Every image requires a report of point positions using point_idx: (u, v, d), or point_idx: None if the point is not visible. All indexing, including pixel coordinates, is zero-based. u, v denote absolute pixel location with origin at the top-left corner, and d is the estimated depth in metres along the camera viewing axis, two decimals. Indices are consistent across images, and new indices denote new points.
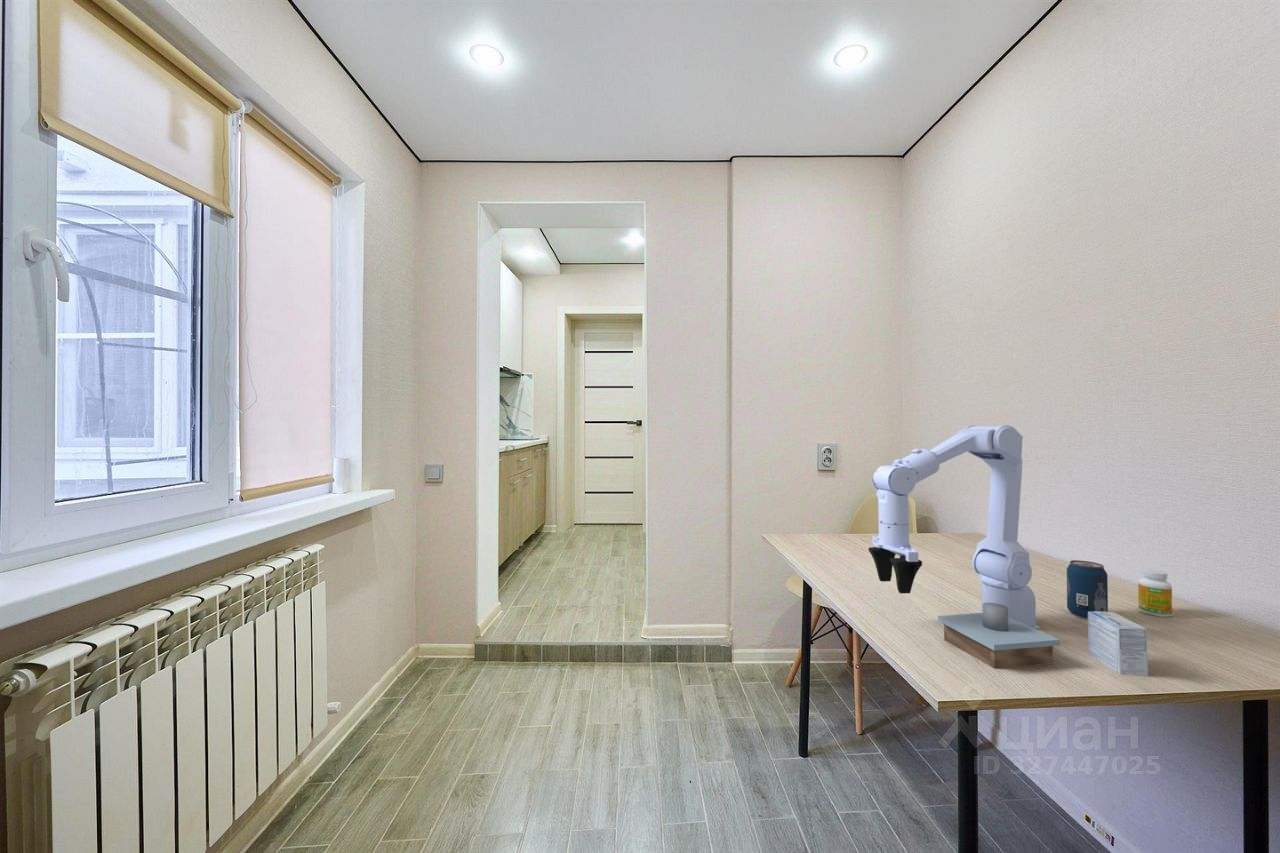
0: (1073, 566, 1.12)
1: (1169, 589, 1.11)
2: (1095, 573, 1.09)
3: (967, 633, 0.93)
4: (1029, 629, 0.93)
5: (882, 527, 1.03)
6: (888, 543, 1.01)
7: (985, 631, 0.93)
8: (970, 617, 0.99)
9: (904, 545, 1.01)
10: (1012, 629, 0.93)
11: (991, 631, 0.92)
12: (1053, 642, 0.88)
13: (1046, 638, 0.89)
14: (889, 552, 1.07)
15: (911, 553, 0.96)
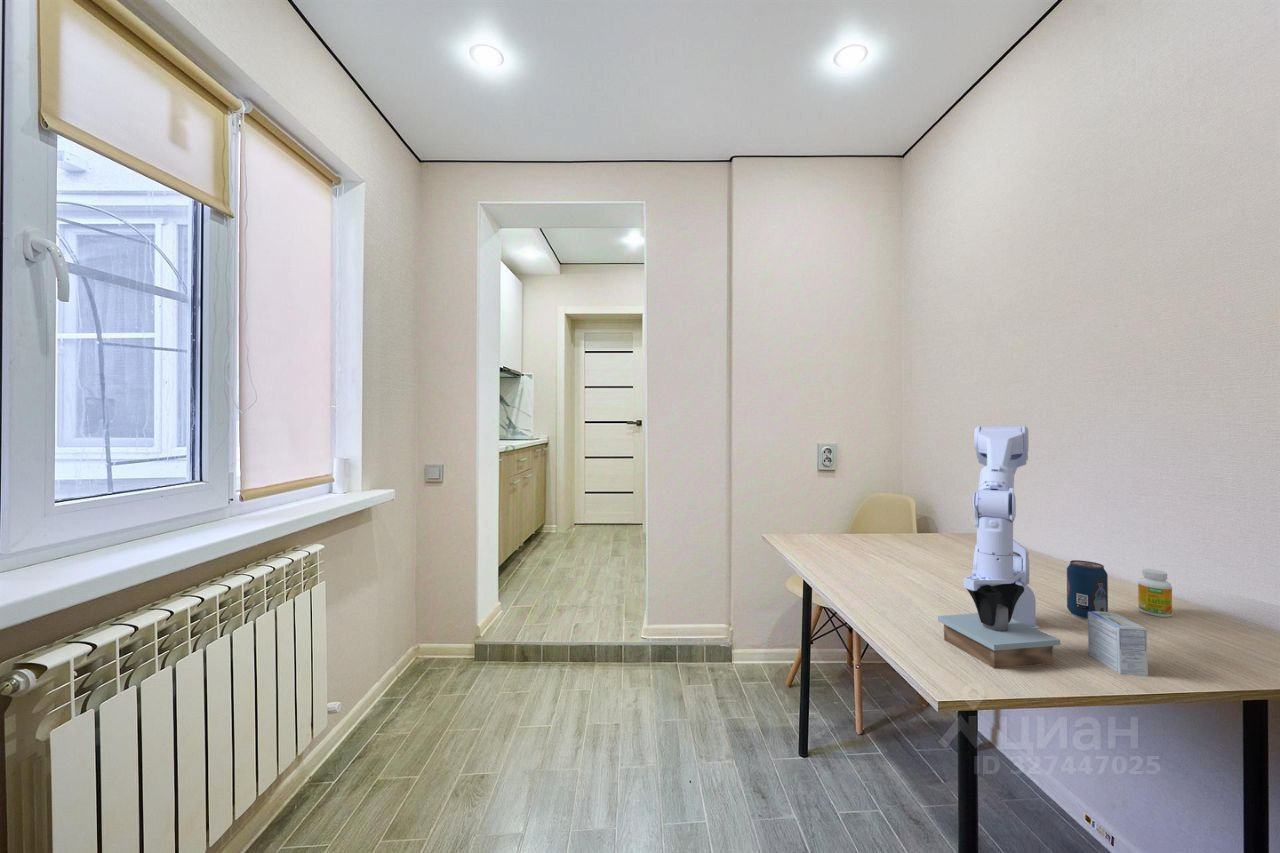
0: (1073, 566, 1.12)
1: (1169, 589, 1.11)
2: (1095, 573, 1.09)
3: (967, 633, 0.93)
4: (1029, 629, 0.93)
5: None
6: (977, 570, 0.96)
7: (985, 631, 0.93)
8: (970, 617, 0.99)
9: (989, 576, 0.93)
10: (1012, 629, 0.93)
11: (991, 631, 0.92)
12: (1053, 642, 0.88)
13: (1046, 638, 0.89)
14: (1007, 590, 0.94)
15: (966, 580, 0.92)
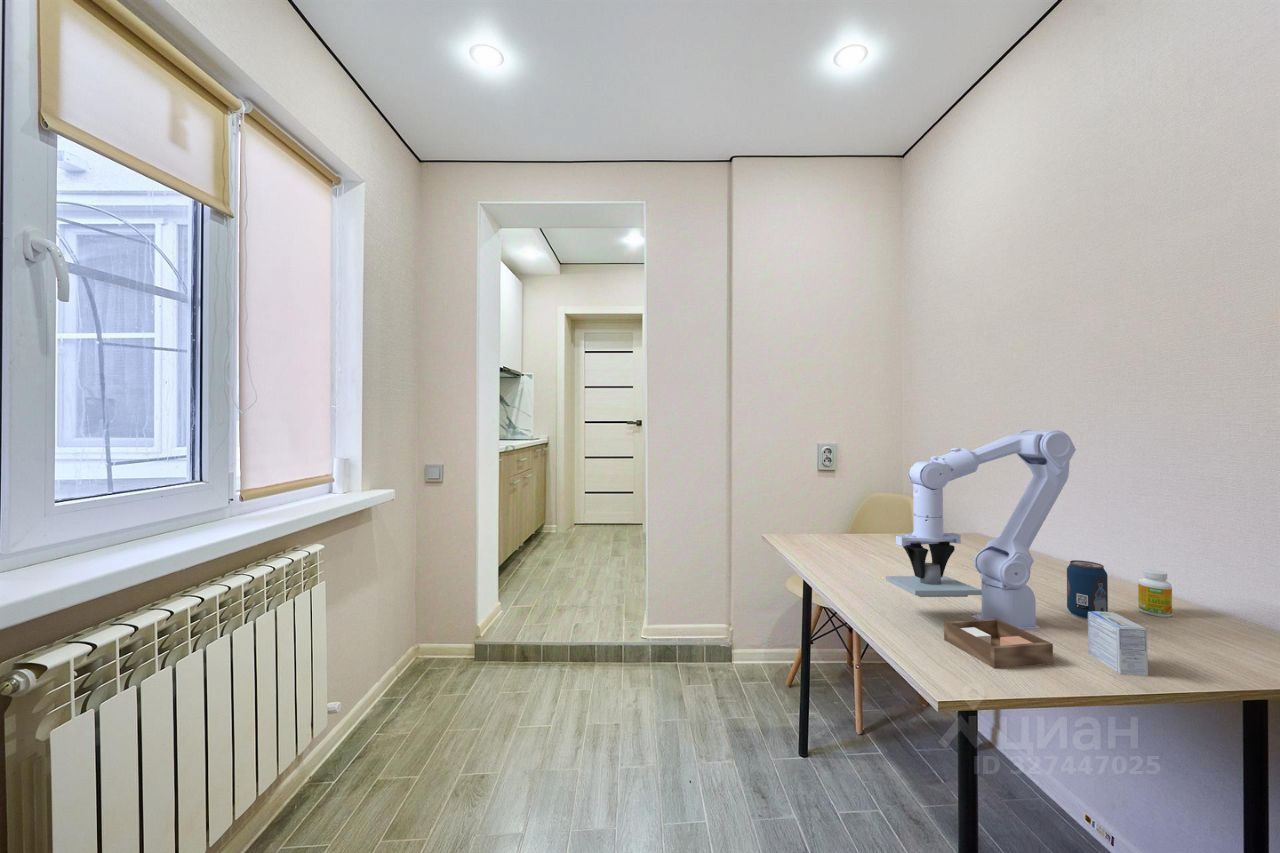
0: (1073, 566, 1.12)
1: (1169, 589, 1.11)
2: (1095, 573, 1.09)
3: (901, 585, 1.08)
4: (961, 584, 1.06)
5: None
6: None
7: (917, 584, 1.07)
8: (915, 577, 1.13)
9: (919, 535, 1.08)
10: (944, 584, 1.07)
11: (923, 584, 1.07)
12: (975, 591, 1.01)
13: (970, 589, 1.02)
14: (940, 548, 1.08)
15: (897, 537, 1.08)
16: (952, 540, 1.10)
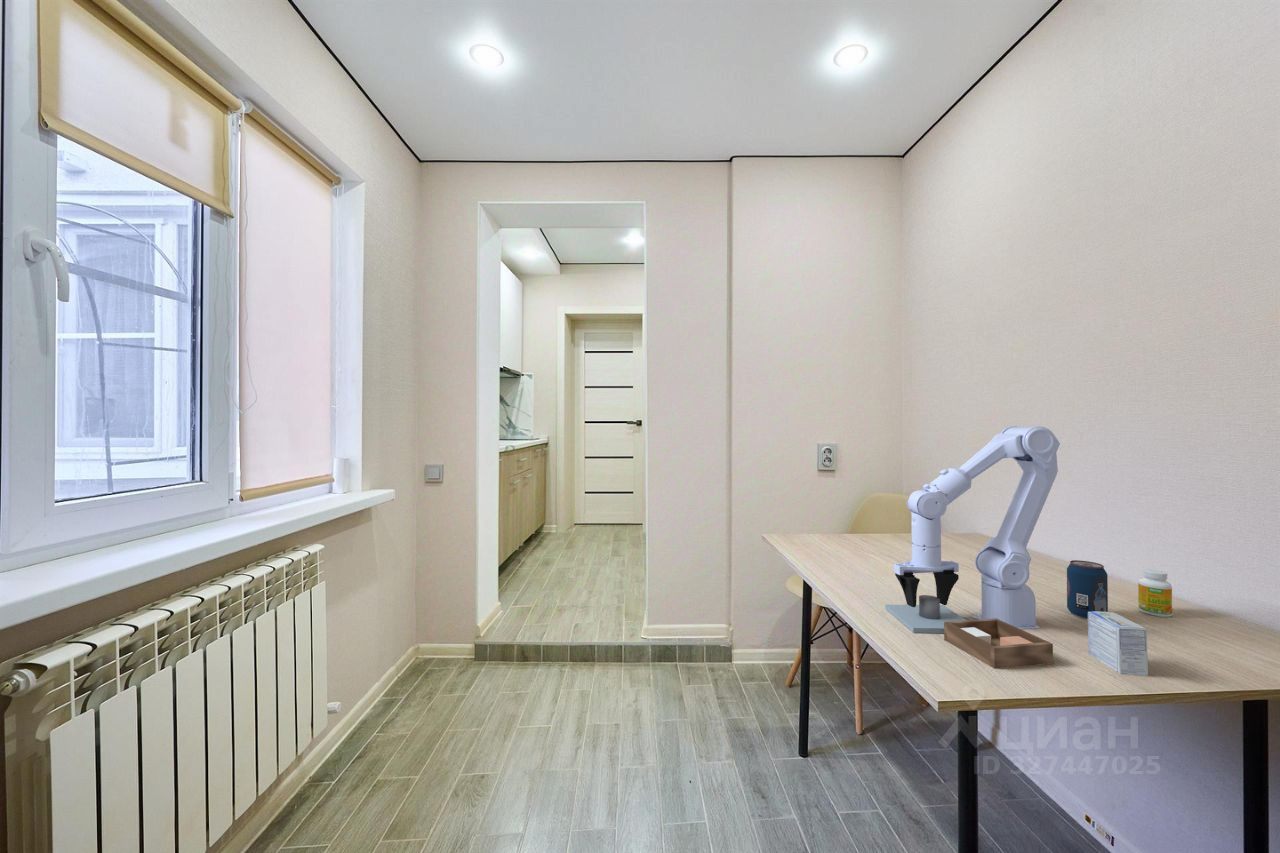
0: (1073, 566, 1.12)
1: (1169, 589, 1.11)
2: (1095, 573, 1.09)
3: (900, 618, 1.09)
4: (960, 619, 1.07)
5: None
6: None
7: (916, 618, 1.08)
8: (914, 607, 1.14)
9: (917, 564, 1.09)
10: (943, 618, 1.08)
11: (922, 618, 1.08)
12: None
13: None
14: (944, 577, 1.10)
15: (895, 566, 1.09)
16: (950, 568, 1.11)
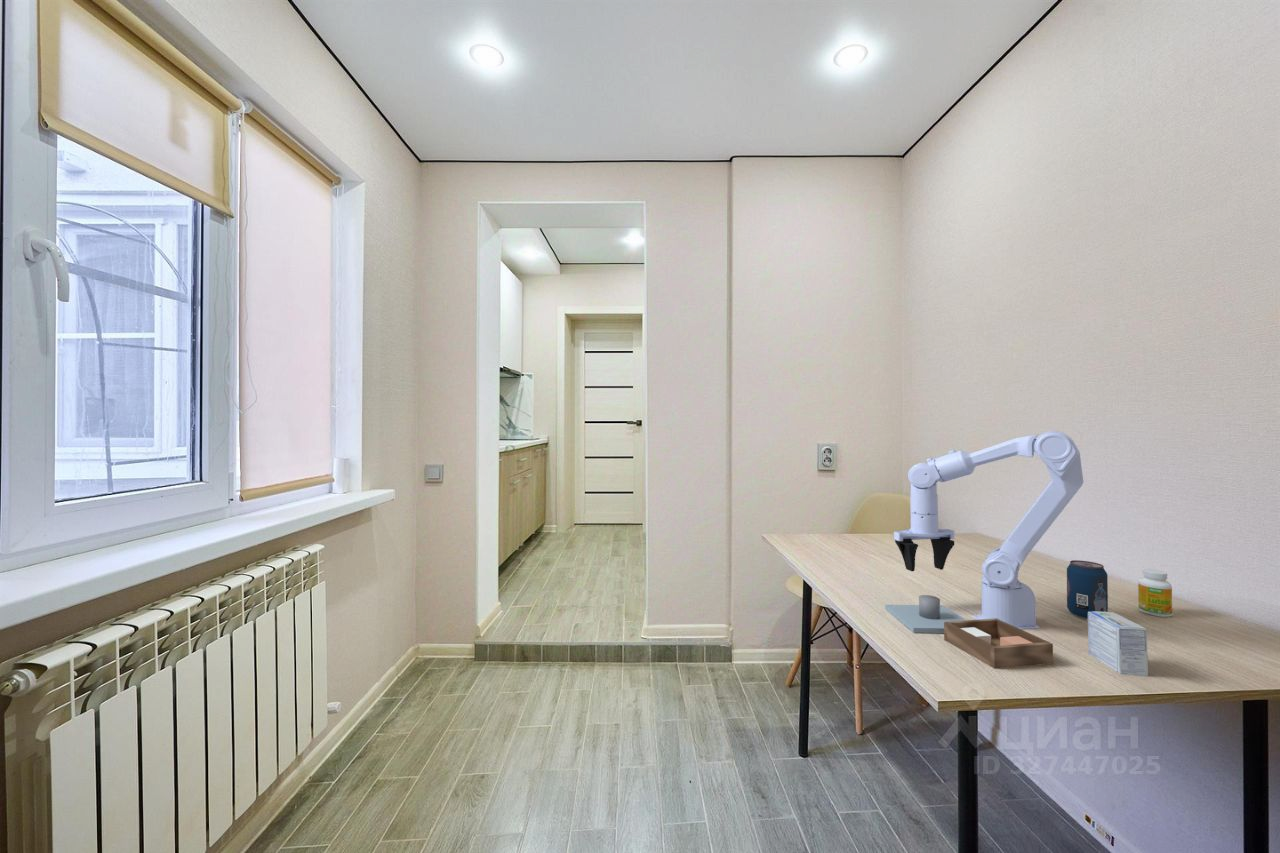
0: (1073, 566, 1.12)
1: (1169, 589, 1.11)
2: (1095, 573, 1.09)
3: (900, 618, 1.09)
4: (960, 619, 1.07)
5: None
6: None
7: (916, 618, 1.08)
8: (914, 607, 1.14)
9: (916, 531, 1.17)
10: (943, 618, 1.08)
11: (922, 618, 1.08)
12: None
13: None
14: (941, 543, 1.17)
15: (895, 533, 1.17)
16: (946, 536, 1.18)
